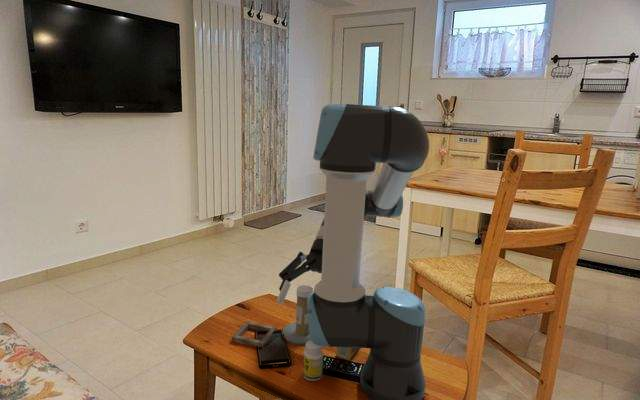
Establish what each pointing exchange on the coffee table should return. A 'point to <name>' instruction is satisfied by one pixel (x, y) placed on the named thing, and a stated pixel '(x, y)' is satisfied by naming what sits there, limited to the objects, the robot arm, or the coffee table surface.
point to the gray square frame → (248, 341)
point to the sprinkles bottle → (302, 310)
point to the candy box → (346, 351)
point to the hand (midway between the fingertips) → (299, 308)
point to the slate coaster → (295, 335)
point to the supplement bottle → (312, 361)
